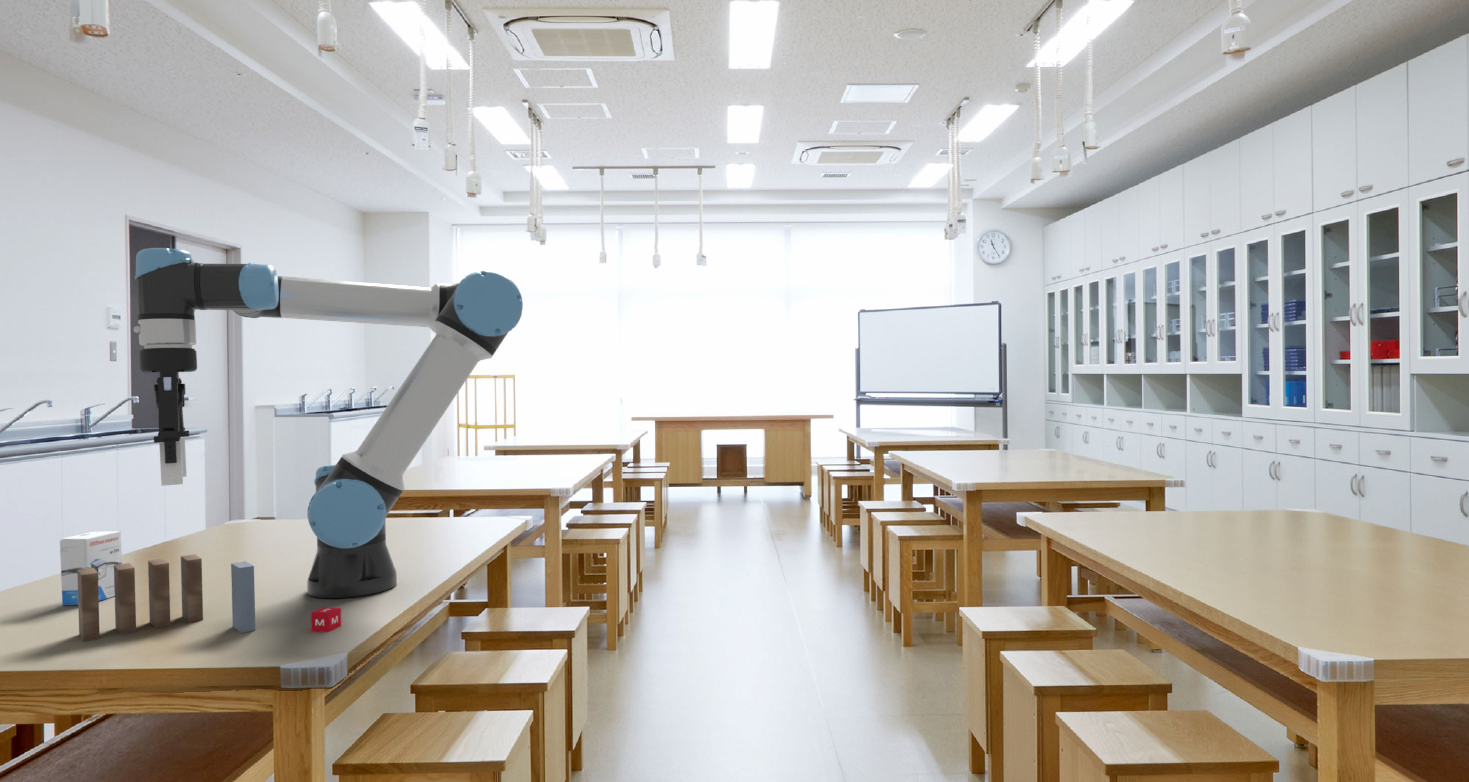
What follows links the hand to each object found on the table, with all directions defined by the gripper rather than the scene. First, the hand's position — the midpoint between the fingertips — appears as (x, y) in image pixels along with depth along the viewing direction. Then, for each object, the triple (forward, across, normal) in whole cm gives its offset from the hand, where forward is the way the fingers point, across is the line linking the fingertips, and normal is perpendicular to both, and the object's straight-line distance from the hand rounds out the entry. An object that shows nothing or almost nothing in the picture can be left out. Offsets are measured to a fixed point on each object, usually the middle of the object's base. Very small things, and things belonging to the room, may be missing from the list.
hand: (174, 481), depth 133 cm
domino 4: (+23, +8, +8) cm, 26 cm away
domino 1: (+23, -2, -7) cm, 24 cm away
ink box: (+23, -29, -14) cm, 40 cm away
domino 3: (+23, -3, +1) cm, 23 cm away
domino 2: (+23, -2, -3) cm, 23 cm away
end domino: (+23, 0, -12) cm, 26 cm away
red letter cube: (+24, +16, +19) cm, 35 cm away
